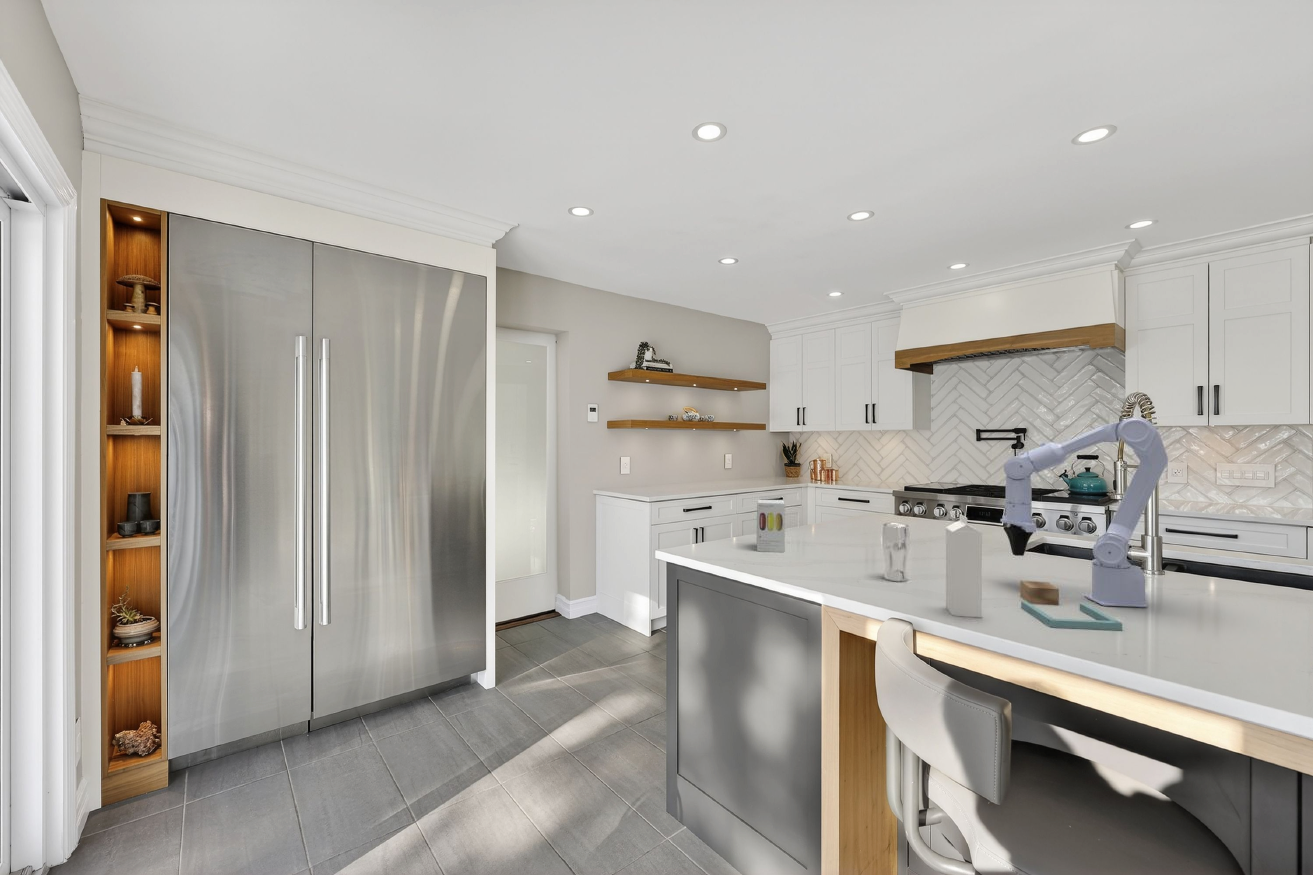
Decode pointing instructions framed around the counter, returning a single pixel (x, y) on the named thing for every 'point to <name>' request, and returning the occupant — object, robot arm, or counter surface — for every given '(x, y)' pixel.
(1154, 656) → the counter surface
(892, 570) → the beer glass
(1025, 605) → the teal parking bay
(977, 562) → the milk
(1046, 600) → the walnut block
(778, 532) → the supplement box
